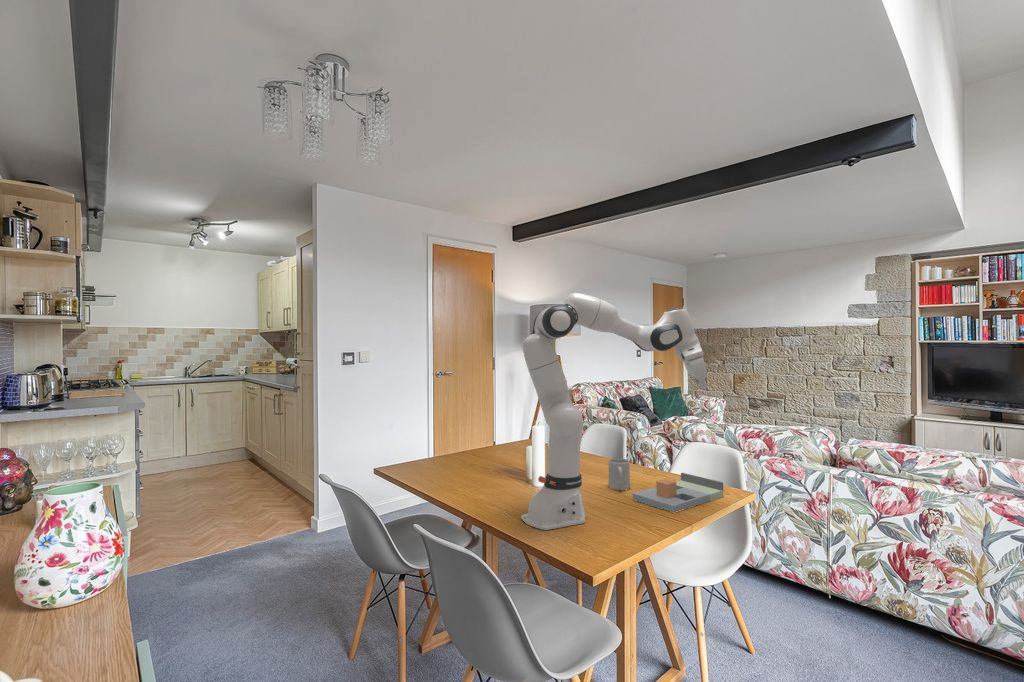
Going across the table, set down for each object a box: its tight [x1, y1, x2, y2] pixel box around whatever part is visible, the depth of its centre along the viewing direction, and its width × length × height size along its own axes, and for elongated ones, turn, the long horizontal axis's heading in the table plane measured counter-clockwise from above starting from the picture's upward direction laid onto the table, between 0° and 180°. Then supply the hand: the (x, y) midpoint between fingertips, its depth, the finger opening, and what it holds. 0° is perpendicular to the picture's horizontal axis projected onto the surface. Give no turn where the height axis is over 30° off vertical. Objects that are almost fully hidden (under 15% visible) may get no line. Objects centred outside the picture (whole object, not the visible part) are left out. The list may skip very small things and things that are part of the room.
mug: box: [607, 457, 631, 491], centre depth 194 cm, size 12×8×11 cm
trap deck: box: [632, 472, 724, 513], centre depth 180 cm, size 30×18×6 cm, turn 125°
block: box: [655, 478, 677, 498], centre depth 176 cm, size 5×5×5 cm
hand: (701, 385), depth 173 cm, fingers open, 8 cm apart
